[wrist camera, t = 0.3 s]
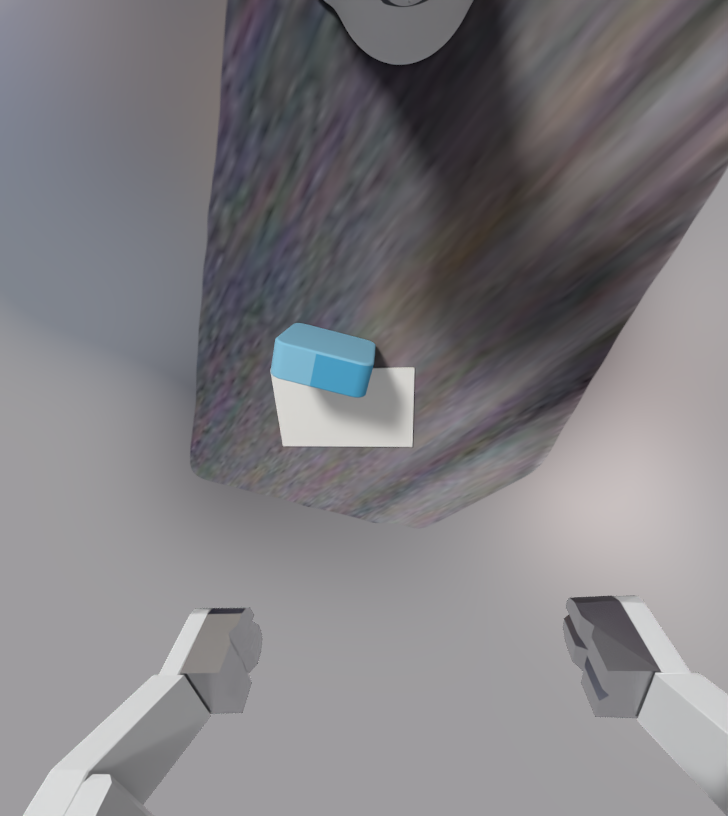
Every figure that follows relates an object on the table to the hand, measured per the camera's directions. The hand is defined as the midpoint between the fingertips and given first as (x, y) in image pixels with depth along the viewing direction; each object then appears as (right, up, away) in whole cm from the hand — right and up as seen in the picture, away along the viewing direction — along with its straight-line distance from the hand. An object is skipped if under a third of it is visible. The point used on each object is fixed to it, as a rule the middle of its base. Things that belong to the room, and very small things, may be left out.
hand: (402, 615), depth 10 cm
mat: (-4, +5, +49) cm, 50 cm away
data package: (-6, +15, +44) cm, 47 cm away
